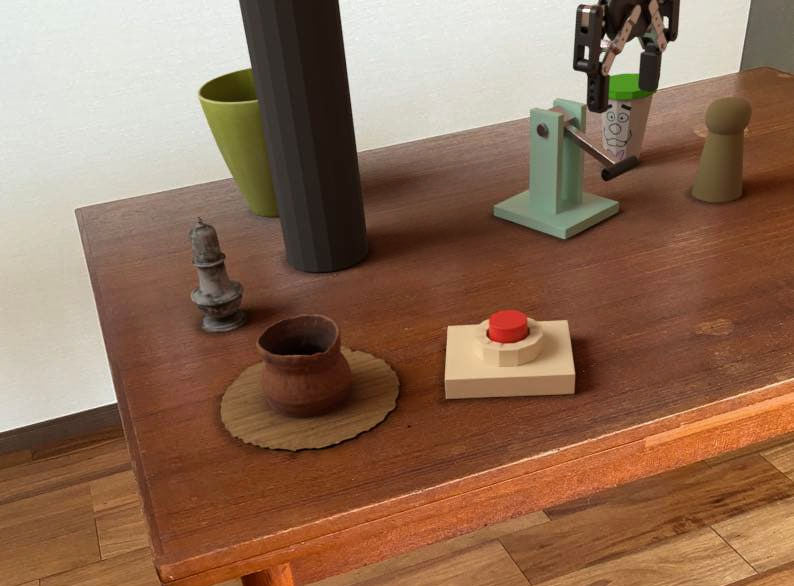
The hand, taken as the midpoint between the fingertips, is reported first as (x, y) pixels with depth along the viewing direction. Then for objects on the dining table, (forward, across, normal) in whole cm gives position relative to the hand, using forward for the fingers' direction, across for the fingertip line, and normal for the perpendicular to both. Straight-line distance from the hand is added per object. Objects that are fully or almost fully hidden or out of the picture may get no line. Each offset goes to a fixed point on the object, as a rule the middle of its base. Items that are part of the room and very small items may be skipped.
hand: (623, 100), depth 97 cm
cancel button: (+12, -30, -11) cm, 34 cm away
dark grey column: (+15, -26, +24) cm, 38 cm away
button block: (+15, -30, -11) cm, 35 cm away
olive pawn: (+15, +17, -3) cm, 23 cm away
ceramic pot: (+15, -46, 0) cm, 49 cm away
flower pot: (+15, -21, +42) cm, 49 cm away
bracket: (+15, 0, +10) cm, 18 cm away
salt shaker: (+15, -44, +20) cm, 50 cm away
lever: (+7, 0, +5) cm, 8 cm away
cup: (+15, +18, +14) cm, 27 cm away
